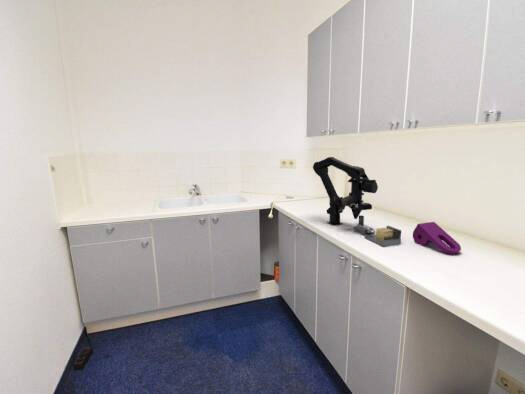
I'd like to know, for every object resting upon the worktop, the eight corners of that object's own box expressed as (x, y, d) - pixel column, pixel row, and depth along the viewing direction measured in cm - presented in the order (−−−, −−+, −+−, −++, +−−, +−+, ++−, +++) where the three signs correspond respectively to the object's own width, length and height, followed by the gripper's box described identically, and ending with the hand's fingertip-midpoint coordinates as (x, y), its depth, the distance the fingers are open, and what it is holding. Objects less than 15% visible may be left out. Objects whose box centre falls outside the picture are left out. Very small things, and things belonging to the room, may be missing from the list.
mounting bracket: (455, 263, 117) (426, 234, 131) (466, 250, 112) (434, 221, 126) (438, 266, 114) (410, 236, 128) (448, 253, 109) (417, 223, 123)
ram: (356, 227, 145) (356, 215, 144) (360, 227, 146) (361, 214, 144) (371, 234, 134) (372, 221, 132) (375, 234, 134) (376, 220, 133)
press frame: (350, 231, 144) (350, 220, 143) (368, 228, 147) (368, 218, 146) (382, 247, 121) (383, 234, 120) (403, 243, 125) (404, 231, 124)
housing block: (375, 238, 129) (376, 228, 128) (384, 237, 131) (384, 227, 130) (383, 242, 125) (384, 231, 124) (392, 240, 126) (392, 230, 125)
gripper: (334, 189, 151) (333, 216, 154) (354, 195, 133) (353, 225, 136) (350, 188, 154) (349, 214, 157) (373, 193, 136) (371, 222, 139)
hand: (355, 218), depth 147 cm, fingers closed
